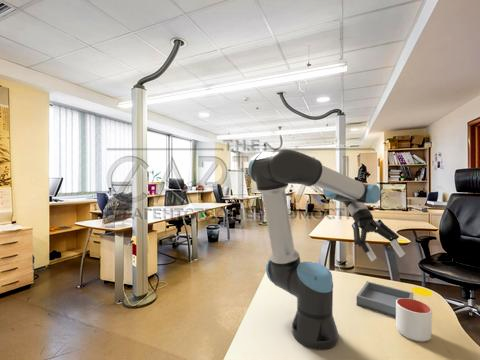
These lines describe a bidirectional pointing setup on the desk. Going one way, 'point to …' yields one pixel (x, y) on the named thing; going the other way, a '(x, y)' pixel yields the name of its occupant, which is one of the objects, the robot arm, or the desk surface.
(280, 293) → the desk surface
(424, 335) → the cup
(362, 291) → the tray
